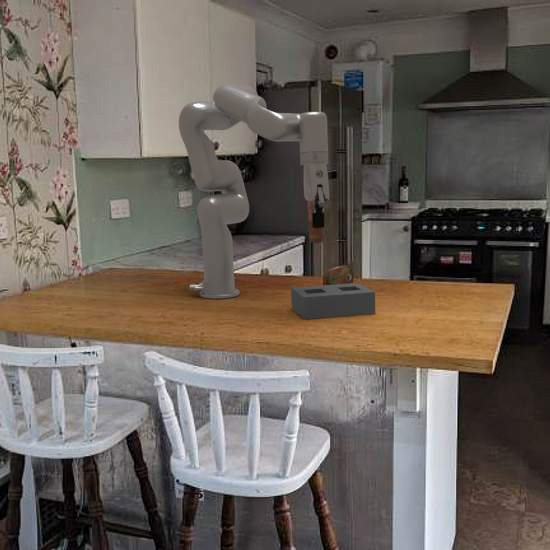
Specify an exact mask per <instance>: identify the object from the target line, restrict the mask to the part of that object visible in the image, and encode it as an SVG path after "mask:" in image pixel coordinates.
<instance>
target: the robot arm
mask: <svg viewBox="0 0 550 550" xmlns="http://www.w3.org/2000/svg"><path fill="white" fill-rule="evenodd" d="M241 122H242V123H244V124H246V125H247V127H248V129H249V130H250V131H252V133H254V134H256V135H258V136H260V137H262V138H264V139H267V140H269V141H273V142H276V143H277V142H279V143H280V142H299V152H300V153H299V158H300V166H303V195H304V199H305V201H307V202H308V200H309V201H311V202H313V213H312V226H313V228H323V227H324V228H325V202H328V201H329V200H330V187H329V174H328V173H329V172H328V166H327V165H329V142H328V141H329V140H328V139H329V136H328V117H327V114H326V113H325V112H323V111H307V112H303V113H292V112H291V113H289V112H287V113H286V112H275V111H272V110H270V109H267V103H266V100H265V99H264V98H263V97H262V96H260V95H258V92H257V91H256V90H255V89H254V88H253V87H252V86H250V85H244V84H232V83H231V84H230V83H227V84H222V85H220V86H218V87H217V88H216V89H215V91H214V92H213V95H212V101H201V100H200V101H191V102H189V103H187V104H185V105H184V106H183V108H182V110H181V111H180V113H179V117H178V129H179V134H180V137H181V139H182V140H181V141H182V142H183V144H184V148H185V150H186V152H187V153H186V154H187V156H188V160H189V165H190V169H191V173H192V177H193V180H194V183H195V186H196V188H197V189H198V190H199V191H201V192H221V193H219V194H211V195H207V196H205V197H202V198H201V200H200V201H199V202H198V205H197V209H196V210H197V211H196V212H197V218H198V223H199V226H200V232H201V242H202V245H201V246H202V258H203V259H202V260H203V263H202V265H203V280H202V281H201V282H199V283H198V284H195V283H192V284H191V283H190V284H189V291H194V292H197V291H200V292H199V296H200V298H204V299H213V300H214V299H215V300H216V299H229V298H230V299H231V298H234V297H238V296H239V295H241V294H240V289H237V288H236V287H235V268H234V267H235V265H234V244H233V243H234V242H233V241H234V240H233V236H232V234H231V230H230V229H229V227H228V225H233V224H238V223H239V224H240V223H242V222H244V221H246V219H247V218H248V217H249V214H250V203H249V199H248V195H247V191H246V188H245V187H246V186H245V182H244V180H243V175H242V172H241V170H240V168H239V167H238V165H237V163H235V162H233V161H231V160H227V159H225V160H223V159H222V160H221V159H220V160H219V159H218V156H217V154H216V149H215V146H214V144H213V141H212V140H211V138H210V137H209V136H208V135H207V134H206V133H205V131H224V130H225V131H226V130H229V129H232V128H233V127H234V126H236V125H238V124H239V123H241ZM315 199H318V201H315ZM307 222H308V224H307V225H308V227H309V216H308V215H307Z"/></svg>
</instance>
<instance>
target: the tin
mask: <svg viewBox="0 0 550 550" xmlns="http://www.w3.org/2000/svg"><path fill="white" fill-rule="evenodd" d="M351 283H354V273H353V269H352V267H351V266H350V265H348V264H347V265H338V266H335V267H333V268H328V269H327V270H325V271H324V274H323V276H322V286H323V285H337V284H351Z"/></svg>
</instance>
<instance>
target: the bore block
mask: <svg viewBox="0 0 550 550" xmlns="http://www.w3.org/2000/svg"><path fill="white" fill-rule="evenodd" d="M290 292H291V293H290V294H291V295H290V297H291V298H290V299H291V300H290V304H291V310H293V311H294V312H295V313H296V314H298V316H300V317H301V318H302V319H303V320H314V319H325V318H339V317H348V316H349V317H350V316H363V315H374V314H376V291H374V290H372V289H370V288H368V287H366V286H364V285H362V284H361V283H359V282H353V283H351V284H337V285H323V284H322V285H314V286H313V285H312V286H299V287H297V286H295V287H291V288H290Z"/></svg>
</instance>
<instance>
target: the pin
mask: <svg viewBox="0 0 550 550" xmlns="http://www.w3.org/2000/svg"><path fill="white" fill-rule="evenodd" d="M315 201H318V199H315ZM312 213H313V202H311V201H309V200H308V201H307V217H308V216H309V226H308V238H309V239H308V240H309V242H308V243H310V244H321V243H324V242H325V233H324V228H325V226H324V227H323V228H313V226H312Z"/></svg>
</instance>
